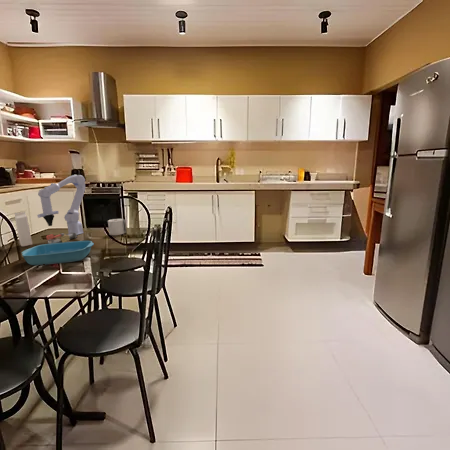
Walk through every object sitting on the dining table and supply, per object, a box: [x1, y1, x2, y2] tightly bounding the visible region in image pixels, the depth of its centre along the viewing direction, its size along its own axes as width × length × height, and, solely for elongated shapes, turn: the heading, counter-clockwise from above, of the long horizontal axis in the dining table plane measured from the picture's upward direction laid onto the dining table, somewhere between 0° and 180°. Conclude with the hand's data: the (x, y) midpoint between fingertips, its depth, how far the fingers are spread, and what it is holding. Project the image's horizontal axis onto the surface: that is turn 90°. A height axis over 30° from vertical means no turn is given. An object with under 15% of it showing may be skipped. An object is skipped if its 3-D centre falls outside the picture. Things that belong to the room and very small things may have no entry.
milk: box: [14, 211, 33, 247], centre depth 207 cm, size 6×6×22 cm
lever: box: [46, 232, 65, 241], centre depth 208 cm, size 12×3×3 cm, turn 157°
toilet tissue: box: [107, 218, 128, 236], centre depth 227 cm, size 11×12×10 cm
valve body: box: [47, 232, 78, 244], centre depth 213 cm, size 20×6×4 cm, turn 156°
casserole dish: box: [21, 240, 94, 266], centre depth 175 cm, size 37×22×7 cm, turn 98°
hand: (50, 225), depth 218 cm, fingers closed
